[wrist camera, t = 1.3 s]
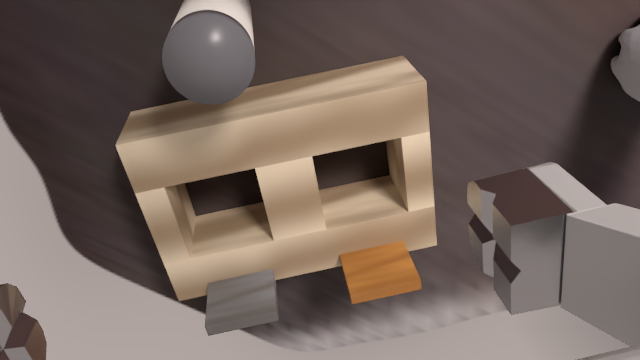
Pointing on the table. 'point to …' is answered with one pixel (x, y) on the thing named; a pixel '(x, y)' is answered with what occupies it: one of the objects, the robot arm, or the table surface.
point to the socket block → (287, 188)
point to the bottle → (628, 62)
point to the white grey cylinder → (210, 50)
